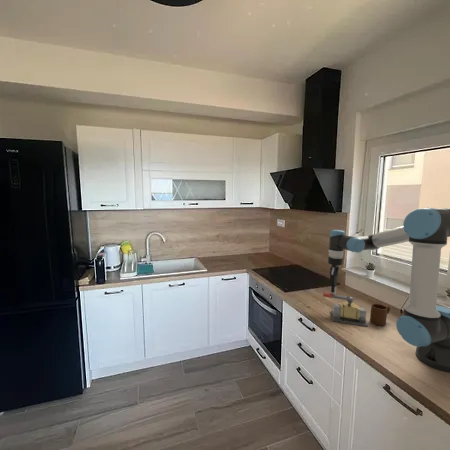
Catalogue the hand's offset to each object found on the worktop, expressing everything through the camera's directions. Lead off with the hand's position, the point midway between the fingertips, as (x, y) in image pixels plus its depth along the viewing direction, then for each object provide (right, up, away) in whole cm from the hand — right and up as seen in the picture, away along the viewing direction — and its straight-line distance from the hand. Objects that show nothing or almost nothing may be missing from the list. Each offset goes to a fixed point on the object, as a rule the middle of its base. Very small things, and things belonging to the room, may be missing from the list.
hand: (332, 296), depth 148 cm
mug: (+24, -12, -7) cm, 27 cm away
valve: (+7, -11, -4) cm, 14 cm away
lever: (+2, 0, -3) cm, 4 cm away
